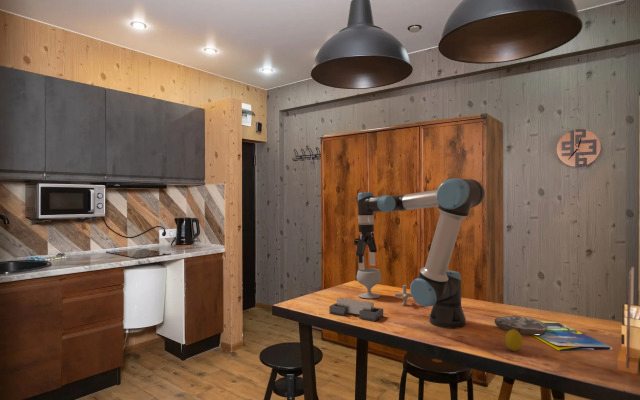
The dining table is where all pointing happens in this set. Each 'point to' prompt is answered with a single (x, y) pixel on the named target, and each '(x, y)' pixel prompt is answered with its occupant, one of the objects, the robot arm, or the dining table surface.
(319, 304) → the dining table surface
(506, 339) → the lemon
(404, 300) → the pipe connector
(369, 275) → the chalice
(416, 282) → the robot arm
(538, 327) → the mottled grey flat slab
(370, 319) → the dark grey open boxes
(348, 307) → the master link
